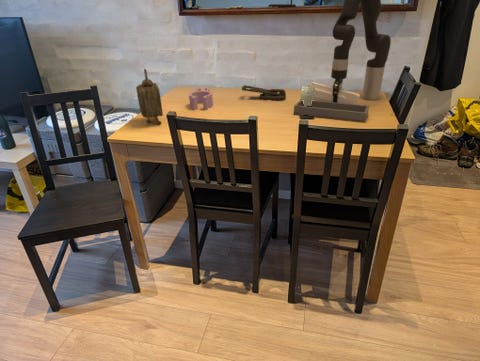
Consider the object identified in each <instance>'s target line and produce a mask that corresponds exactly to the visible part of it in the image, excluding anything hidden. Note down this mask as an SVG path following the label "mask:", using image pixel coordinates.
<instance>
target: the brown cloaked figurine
mask: <svg viewBox="0 0 480 361" xmlns="http://www.w3.org/2000/svg"><path fill="white" fill-rule="evenodd" d="M143 71H144V72H143V73H144V78H145V79H143V80H142V82H141V84H139V85H137V86H136V88H135V89H136V94H137V100H138V106H139V111H140V114H141V116H142V117H143V118H147V119H146V122H147V123H150V122H151V120H150V118H154V119H156V121H157V124H158V125H162V121H161V120H159V117H163V116H164V115H163V107H162V100H161V94H160V93H161V92H160V88H159V86H158V84H157V83H156V82H153V81H152V80H151V79H149V78H148V72H147V69H146V68H144V69H143Z"/></svg>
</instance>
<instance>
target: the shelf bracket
mask: <svg viewBox="0 0 480 361" xmlns="http://www.w3.org/2000/svg"><path fill="white" fill-rule="evenodd" d="M311 86H313V87H315V90H316V92H315V99H314V101H324V102H333V96H332V94H333V86H332V85H331V86H329V85H326V84H322V83H318V82H314V81H312V82H311V85H310V87H311ZM338 90H339V89H338ZM335 93H337V92H335ZM360 96H361V95H360V93H358V92H353V91H349V90H345V89H340V92H339V94H338V100H337V103H345V104H356V105H358V103H359V99H360Z"/></svg>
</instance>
